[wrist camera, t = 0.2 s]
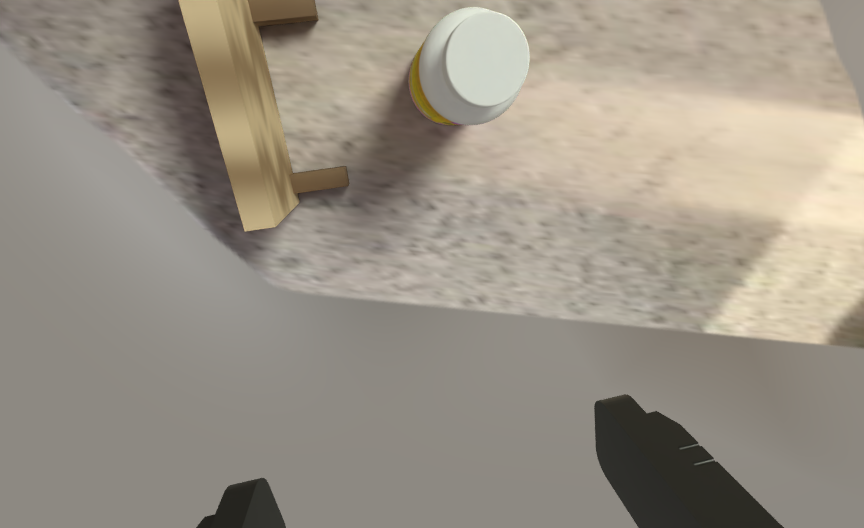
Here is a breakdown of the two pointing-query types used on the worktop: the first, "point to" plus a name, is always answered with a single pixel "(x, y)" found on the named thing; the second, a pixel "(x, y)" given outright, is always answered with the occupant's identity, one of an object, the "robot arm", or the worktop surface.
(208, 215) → the worktop surface
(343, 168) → the wall board
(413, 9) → the worktop surface
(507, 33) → the supplement bottle
